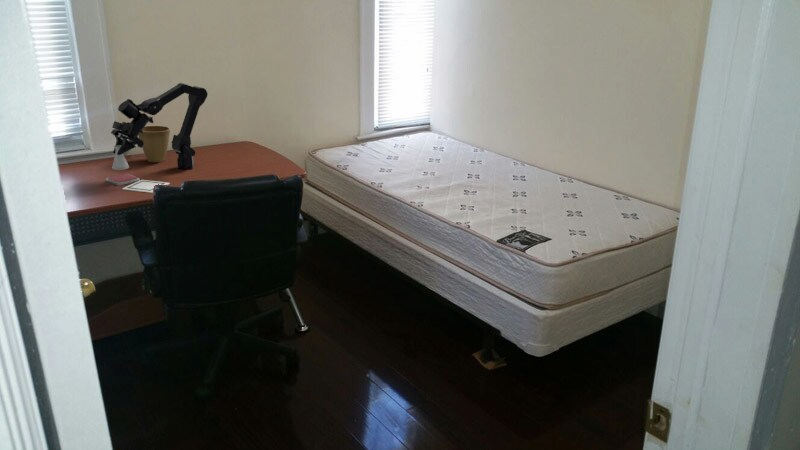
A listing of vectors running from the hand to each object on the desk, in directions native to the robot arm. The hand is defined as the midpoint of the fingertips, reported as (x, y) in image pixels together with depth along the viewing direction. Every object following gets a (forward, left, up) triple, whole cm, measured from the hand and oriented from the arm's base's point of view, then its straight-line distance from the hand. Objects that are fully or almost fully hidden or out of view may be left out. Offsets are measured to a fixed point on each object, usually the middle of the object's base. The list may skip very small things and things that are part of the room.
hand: (116, 153), depth 278 cm
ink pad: (-2, 0, -12) cm, 12 cm away
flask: (-1, -1, -7) cm, 7 cm away
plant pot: (-9, -35, -12) cm, 38 cm away
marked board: (-13, +9, -12) cm, 20 cm away
